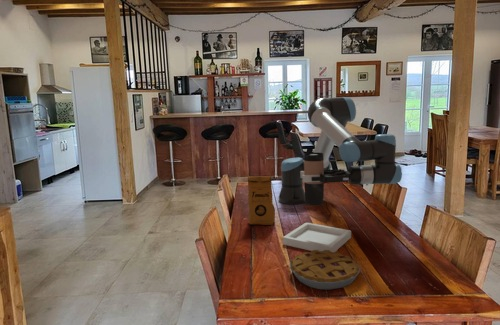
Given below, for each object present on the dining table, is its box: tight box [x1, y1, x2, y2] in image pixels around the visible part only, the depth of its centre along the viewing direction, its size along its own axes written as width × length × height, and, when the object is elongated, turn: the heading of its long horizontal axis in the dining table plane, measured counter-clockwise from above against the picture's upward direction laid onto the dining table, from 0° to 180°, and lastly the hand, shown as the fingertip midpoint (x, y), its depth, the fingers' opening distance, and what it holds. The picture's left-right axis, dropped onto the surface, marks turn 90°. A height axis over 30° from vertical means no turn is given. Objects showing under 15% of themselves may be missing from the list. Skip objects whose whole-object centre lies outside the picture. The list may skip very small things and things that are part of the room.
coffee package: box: [247, 176, 276, 226], centre depth 170 cm, size 10×12×22 cm
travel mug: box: [303, 152, 325, 206], centre depth 148 cm, size 8×8×20 cm
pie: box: [289, 250, 361, 290], centre depth 120 cm, size 22×22×5 cm
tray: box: [282, 222, 352, 252], centre depth 148 cm, size 20×20×3 cm
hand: (301, 176), depth 148 cm, fingers closed on travel mug, 7 cm apart
